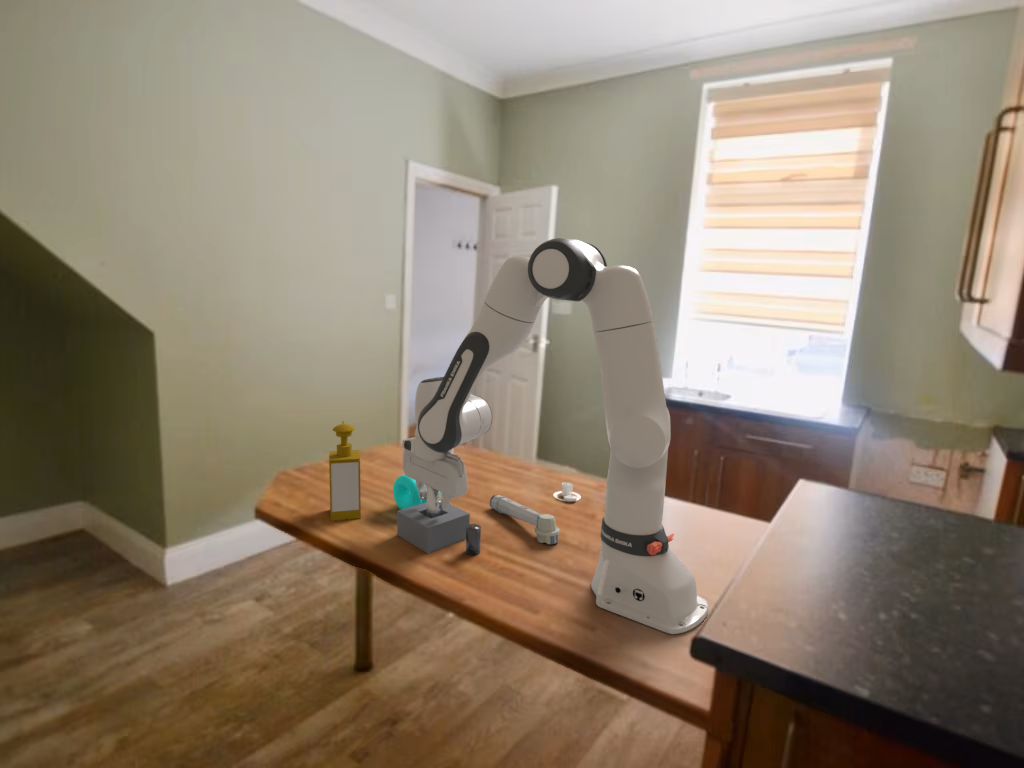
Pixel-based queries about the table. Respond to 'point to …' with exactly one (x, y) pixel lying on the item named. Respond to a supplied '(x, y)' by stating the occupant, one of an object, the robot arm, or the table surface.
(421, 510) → the hole block
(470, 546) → the short pin
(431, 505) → the long pin
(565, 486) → the teacup and saucer
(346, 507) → the soap bottle
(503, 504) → the toothbrush head
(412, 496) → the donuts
